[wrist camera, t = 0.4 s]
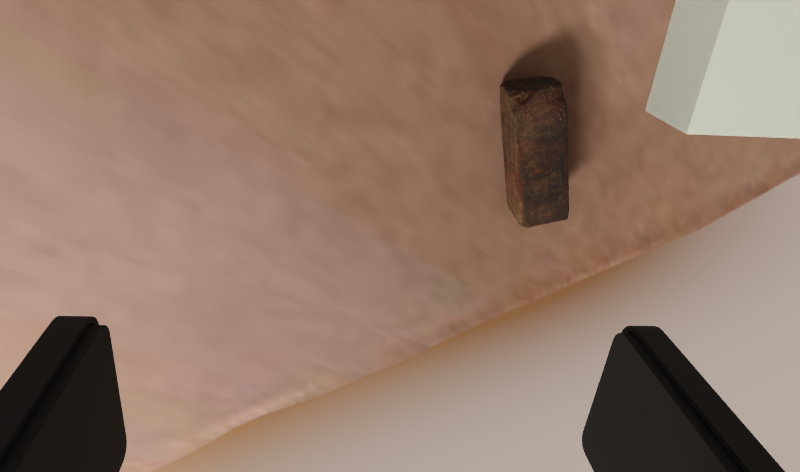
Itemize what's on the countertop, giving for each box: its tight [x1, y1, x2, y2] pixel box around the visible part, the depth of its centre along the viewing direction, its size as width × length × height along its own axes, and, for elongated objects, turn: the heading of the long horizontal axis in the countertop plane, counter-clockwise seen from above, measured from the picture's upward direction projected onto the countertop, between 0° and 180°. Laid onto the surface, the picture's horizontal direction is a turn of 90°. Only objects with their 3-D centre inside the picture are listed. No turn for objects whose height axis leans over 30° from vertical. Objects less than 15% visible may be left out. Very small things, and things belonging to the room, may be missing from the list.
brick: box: [500, 77, 569, 228], centre depth 44 cm, size 11×4×5 cm, turn 9°
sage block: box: [645, 0, 800, 138], centre depth 40 cm, size 14×14×6 cm
